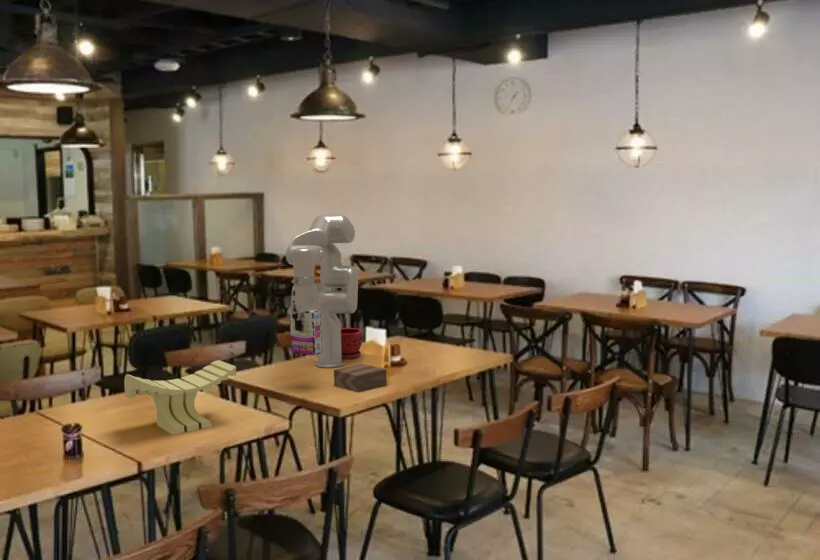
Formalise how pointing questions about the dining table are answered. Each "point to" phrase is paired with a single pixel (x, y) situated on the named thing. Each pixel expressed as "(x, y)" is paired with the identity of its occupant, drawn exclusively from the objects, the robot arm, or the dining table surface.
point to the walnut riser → (360, 377)
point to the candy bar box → (307, 334)
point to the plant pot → (350, 342)
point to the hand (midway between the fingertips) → (305, 328)
